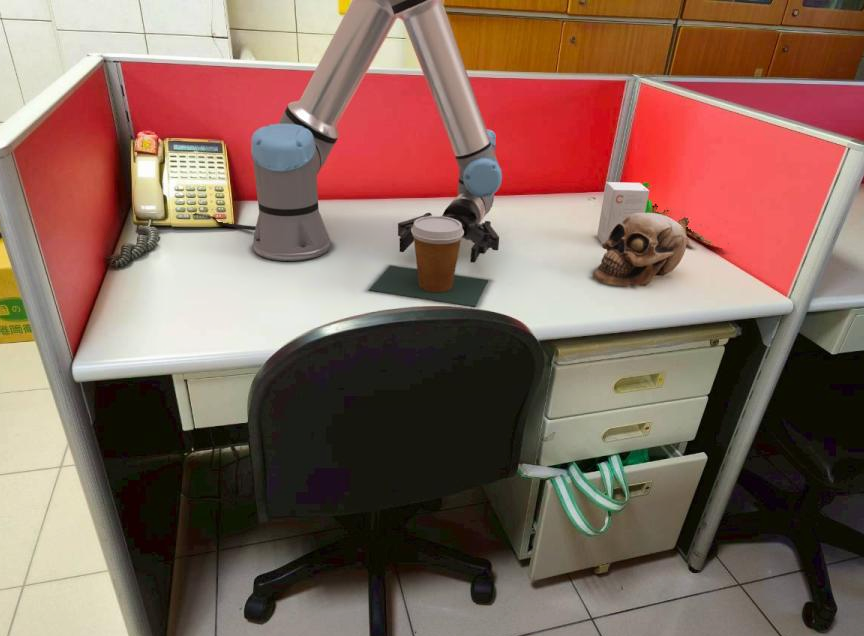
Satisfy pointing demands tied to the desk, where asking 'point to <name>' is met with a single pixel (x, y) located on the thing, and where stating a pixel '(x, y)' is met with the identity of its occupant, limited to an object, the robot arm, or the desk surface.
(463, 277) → the desk mat
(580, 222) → the desk surface
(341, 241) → the desk surface
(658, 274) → the beige brown skull
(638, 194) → the small box
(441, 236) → the disposable coffee cup
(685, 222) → the brown jagged long piece
